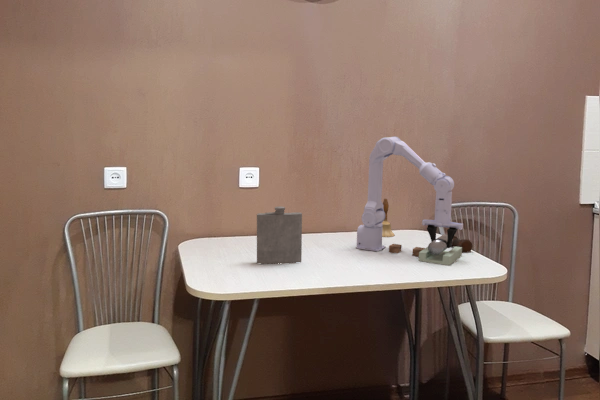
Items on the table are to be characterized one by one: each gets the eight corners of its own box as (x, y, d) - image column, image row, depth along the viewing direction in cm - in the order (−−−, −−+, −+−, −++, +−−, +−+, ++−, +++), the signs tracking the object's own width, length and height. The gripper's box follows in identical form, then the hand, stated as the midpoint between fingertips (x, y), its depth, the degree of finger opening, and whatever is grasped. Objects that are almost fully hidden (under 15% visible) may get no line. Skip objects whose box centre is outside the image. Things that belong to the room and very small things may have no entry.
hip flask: (300, 260, 205) (301, 205, 202) (302, 263, 201) (303, 207, 198) (256, 262, 202) (256, 206, 199) (257, 265, 198) (257, 208, 195)
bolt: (448, 248, 234) (467, 256, 219) (438, 242, 232) (457, 250, 218) (455, 235, 234) (475, 242, 219) (445, 230, 232) (465, 236, 218)
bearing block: (388, 252, 218) (389, 245, 218) (392, 250, 221) (392, 243, 221) (421, 256, 212) (421, 250, 211) (424, 254, 215) (425, 248, 215)
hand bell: (389, 238, 242) (391, 200, 239) (371, 235, 246) (373, 199, 243) (397, 234, 249) (398, 198, 246) (379, 232, 253) (381, 196, 250)
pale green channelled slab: (418, 260, 206) (419, 252, 205) (432, 251, 220) (432, 243, 219) (449, 265, 200) (450, 256, 200) (461, 255, 214) (462, 247, 213)
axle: (441, 255, 202) (441, 242, 201) (427, 254, 204) (427, 240, 203) (452, 247, 214) (452, 234, 213) (439, 246, 216) (439, 233, 215)
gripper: (420, 209, 207) (418, 246, 209) (460, 213, 200) (458, 251, 202) (426, 206, 213) (424, 242, 215) (465, 210, 206) (463, 247, 208)
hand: (441, 246), depth 209 cm, fingers closed on axle, 5 cm apart
